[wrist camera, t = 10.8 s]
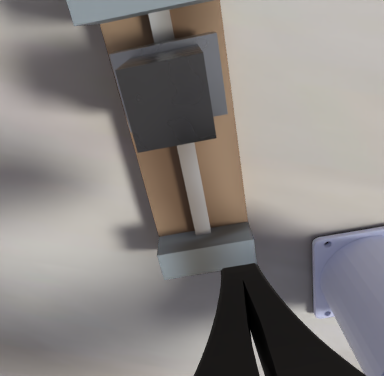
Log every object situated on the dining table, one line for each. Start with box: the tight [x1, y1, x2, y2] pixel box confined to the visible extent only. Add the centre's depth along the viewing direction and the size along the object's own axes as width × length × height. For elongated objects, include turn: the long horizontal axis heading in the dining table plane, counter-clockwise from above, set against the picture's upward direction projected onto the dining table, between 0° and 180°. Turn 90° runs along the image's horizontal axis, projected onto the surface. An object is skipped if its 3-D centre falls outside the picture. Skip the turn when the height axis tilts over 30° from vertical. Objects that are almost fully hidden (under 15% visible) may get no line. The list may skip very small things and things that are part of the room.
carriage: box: [109, 31, 228, 153], centre depth 14 cm, size 5×4×6 cm
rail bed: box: [100, 0, 257, 280], centre depth 18 cm, size 6×20×3 cm, turn 10°
